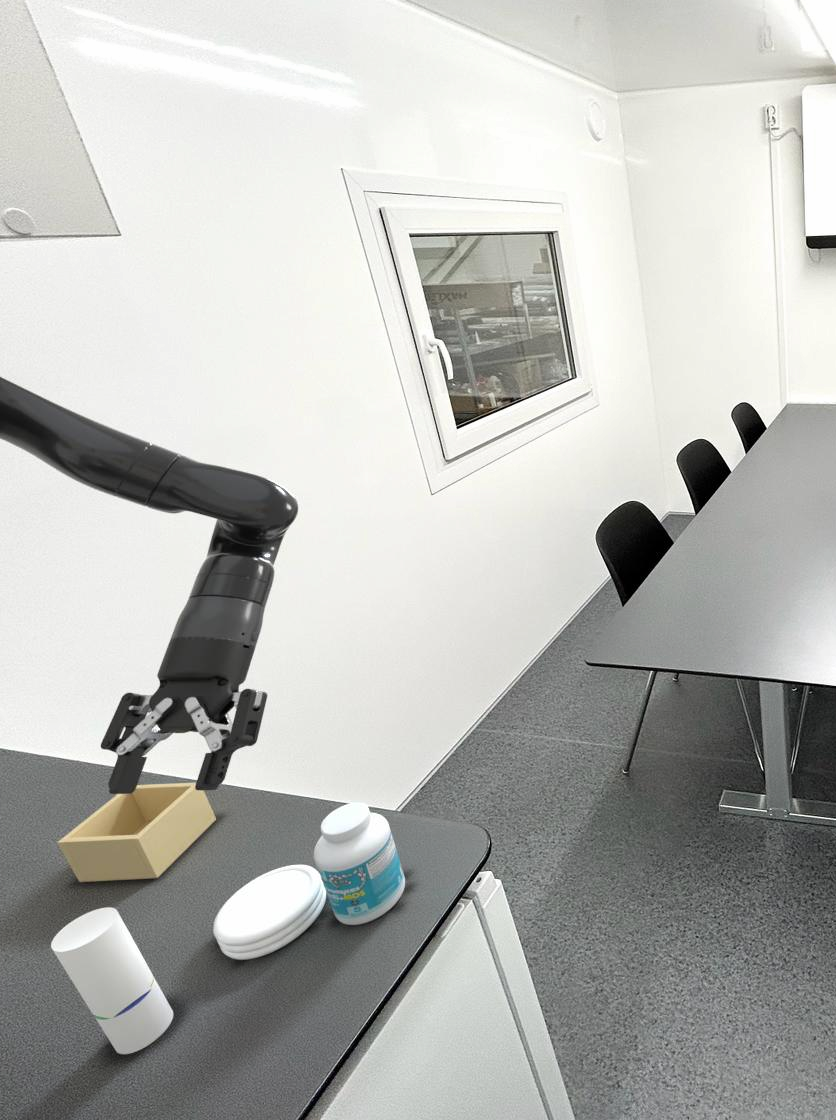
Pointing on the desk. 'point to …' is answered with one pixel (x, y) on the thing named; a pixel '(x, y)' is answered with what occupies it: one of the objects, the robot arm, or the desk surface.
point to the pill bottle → (358, 864)
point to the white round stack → (269, 912)
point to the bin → (138, 833)
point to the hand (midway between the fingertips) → (163, 792)
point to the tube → (113, 979)
